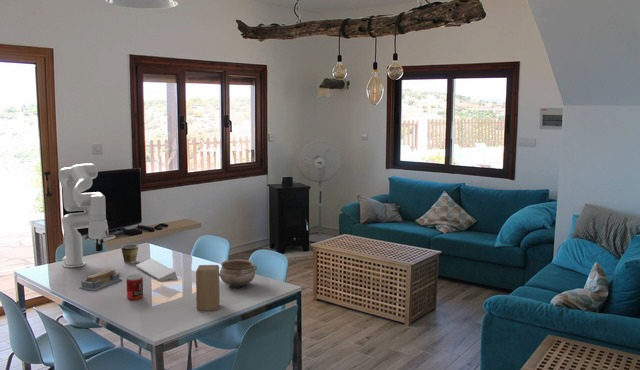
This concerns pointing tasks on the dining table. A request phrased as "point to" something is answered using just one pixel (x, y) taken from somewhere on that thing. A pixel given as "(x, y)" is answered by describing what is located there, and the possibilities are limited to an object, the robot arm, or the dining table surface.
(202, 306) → the wooden block
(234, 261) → the cooking pot
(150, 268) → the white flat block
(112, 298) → the dining table surface
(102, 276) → the slat
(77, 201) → the robot arm
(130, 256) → the ceramic cup
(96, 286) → the board
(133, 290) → the canned food
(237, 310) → the dining table surface
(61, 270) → the dining table surface
